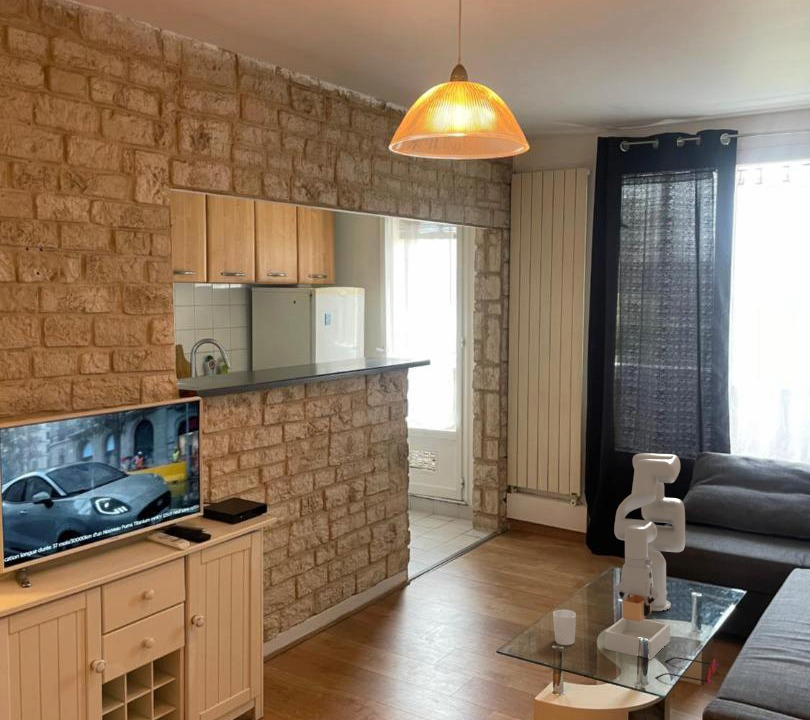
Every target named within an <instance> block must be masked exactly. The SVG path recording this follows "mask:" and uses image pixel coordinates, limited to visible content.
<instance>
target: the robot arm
mask: <svg viewBox="0 0 810 720" xmlns="http://www.w3.org/2000/svg"><path fill="white" fill-rule="evenodd" d="M632 466H633V469H634V472H633V481H632V488H631V489H632V490H631V494H629V495H628V496H627V497H626V498H624V499H623V501H622V502H621V503H620V504H619V505H618V508H617V509H616V512H615V513H616V514H615V521H614V527H613V528H614V529H613V530H614V531H613V532H614V535H615V537H616V539H618V540H621V541H624V563H623V566H622V571H621V579H620V580H621V581H620V582H619V583H618V584H617V585H616V586H615V587H614V590H615V591H616V592H617V593H618V595H619V596H620V597H621V599H622V602H623V601H624V600H625V599H626V598H628V597H629V596H630V595H636V596H642V597H643V599H644V601H645V605H644V616H645V617H646V618H647V617H648V616H649V615H651V614H650V604H651V612H664V611H668V610H669V609H670V608H671V605H672V603H671V602H670V601H669V600H667V595H668V590H667V562H666V559H665V557H664V556H663V554H662V553H661V552H670V553H680V552H681V553H682V552H683V551H684V549H685V547H686V512H685V511H686V510H685V504H684V502H683V500H682V499H679V498H676V497H666V496H665V484H672V483H674V482H675V481H676V480H677V478H678V477H679V473H680V471H681V461H680V458H679V457H678V456H677V455H676V454H669V453H646V452H644V453H643V452H642V453H637V454H634V455H633V457H632ZM664 483H665V484H664ZM640 508H641V509H640ZM637 509H640V510H641V517H642V518H643V519H633V518H626V516H627V515H628V514H629V513H630V512H632V511H634V510H637ZM655 523H666V524H671V525H672V526H670V525H668V526H667V525H660V524H659V525H658V524H655ZM650 596H651V598H650ZM667 609H668V610H667ZM663 610H664V611H663Z"/></svg>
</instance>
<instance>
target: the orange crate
mask: <svg viewBox="0 0 810 720" xmlns="http://www.w3.org/2000/svg"><path fill="white" fill-rule="evenodd" d="M650 598H651V596H650ZM644 605H645V601H644V599H643V597H642V596H636V595H631V594H630V596H629V597H628V598H626V599H625V600H624V601H623V600H622V617H623V619H628V620H633V621H638V622H641V621H642V620H643V619H646V618H647V617H645V616H644ZM651 614H652V611H651V604H650V614H649V615H651Z"/></svg>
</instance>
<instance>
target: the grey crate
mask: <svg viewBox="0 0 810 720" xmlns="http://www.w3.org/2000/svg"><path fill="white" fill-rule="evenodd" d="M638 637H644V638H647V639H648V640H647V641H648V649H649V658H650V659H651V660H653V659H654V657H656V656H657V655H656V654H657V653H658V652H659V651H660V650H661V649H662V648H663V649H664V648H665V647H666V646H667V645H668V644H669V643H670V642H671V624H670V623H664V622H659V621H655V620H650V619H646V618H645V619H643V620H642V621H641V622H638V621H633V620H628V619H623V616H622V617H621V618H620V619H619V620H617V621H616V622H615V623H614V624H612V625H611V626H610V627H609V628H607V629H606V630H605V631H604V649H605V650H609V651H612V652H613V651H614V652H616V653H617V652H618V653H620V654H626V655H630V656H633V657H637V654H638V646H639V639H641V638H638ZM664 646H665V647H664ZM663 649H662V650H663ZM662 650H661V651H662ZM661 651H660V652H661ZM660 652H659V653H660ZM659 653H658V654H659ZM655 655H656V656H655ZM650 659H649V660H650Z"/></svg>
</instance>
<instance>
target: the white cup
mask: <svg viewBox="0 0 810 720" xmlns="http://www.w3.org/2000/svg"><path fill="white" fill-rule="evenodd" d="M552 616H553V617H552V618H553V631H554V642H555V641H556V644H557V645H560V646H571V645H573V644H575V643H576V640H575V639H576V624H577V614H576V612H575V611H573V610H570V609H557V610H554V611H553V612H552Z"/></svg>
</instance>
